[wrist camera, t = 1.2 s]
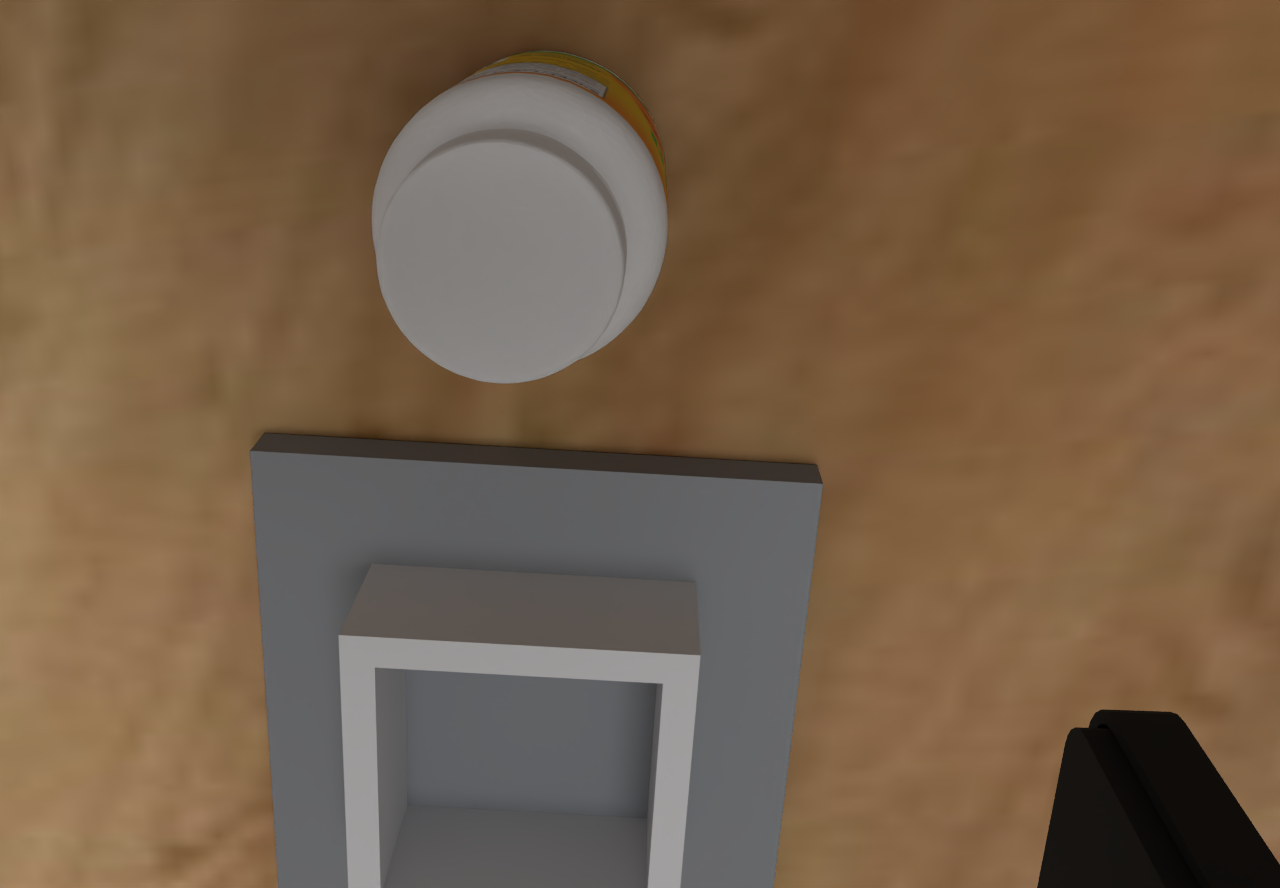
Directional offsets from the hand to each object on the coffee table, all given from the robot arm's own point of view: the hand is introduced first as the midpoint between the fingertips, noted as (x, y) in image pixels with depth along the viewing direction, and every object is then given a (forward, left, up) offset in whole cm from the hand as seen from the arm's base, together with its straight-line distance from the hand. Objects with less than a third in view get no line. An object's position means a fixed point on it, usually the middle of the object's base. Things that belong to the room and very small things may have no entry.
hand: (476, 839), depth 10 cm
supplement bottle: (-2, -1, -21) cm, 21 cm away
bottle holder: (+12, -1, -21) cm, 24 cm away
